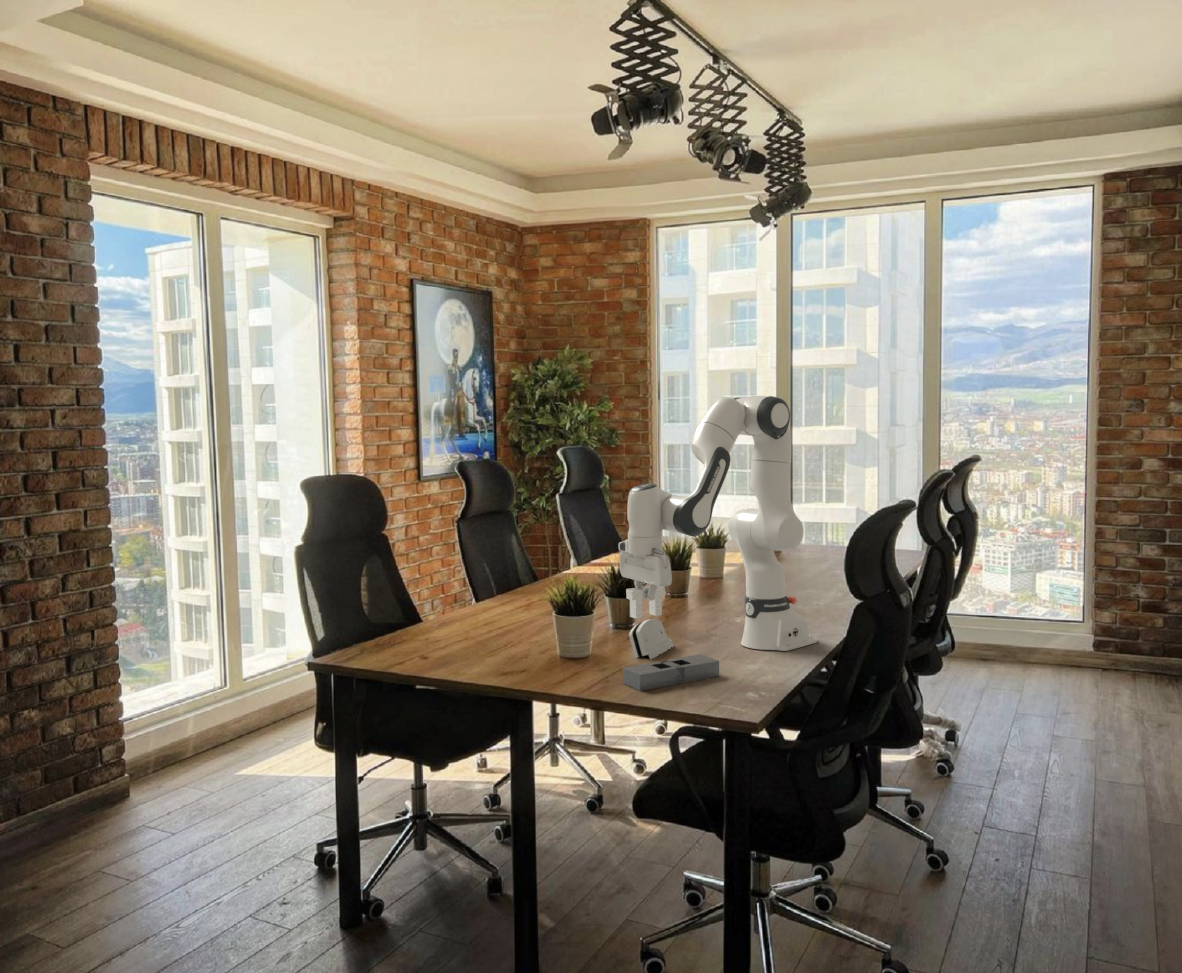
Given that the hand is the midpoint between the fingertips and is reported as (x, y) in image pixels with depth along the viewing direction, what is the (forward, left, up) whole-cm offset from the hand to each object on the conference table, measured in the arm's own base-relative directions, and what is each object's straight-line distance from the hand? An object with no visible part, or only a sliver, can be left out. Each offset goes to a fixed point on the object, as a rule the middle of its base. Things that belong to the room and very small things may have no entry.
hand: (645, 598), depth 257 cm
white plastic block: (-11, -16, -19) cm, 28 cm away
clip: (0, 0, -5) cm, 5 cm away
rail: (0, +12, -19) cm, 22 cm away
